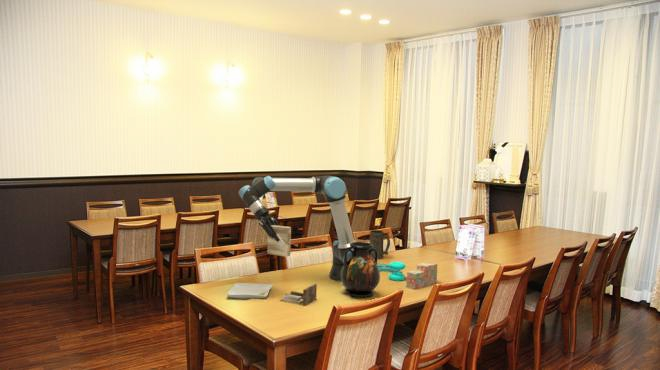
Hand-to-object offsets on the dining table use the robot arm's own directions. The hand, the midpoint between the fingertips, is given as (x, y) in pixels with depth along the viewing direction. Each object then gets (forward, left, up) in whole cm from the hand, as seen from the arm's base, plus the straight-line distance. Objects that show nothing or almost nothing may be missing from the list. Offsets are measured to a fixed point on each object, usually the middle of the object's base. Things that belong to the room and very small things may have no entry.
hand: (285, 244), depth 258 cm
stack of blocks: (-80, -26, -28) cm, 89 cm away
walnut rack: (-8, +7, -28) cm, 30 cm away
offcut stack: (-5, +10, -27) cm, 29 cm away
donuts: (-68, -39, -28) cm, 83 cm away
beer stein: (-66, -94, -28) cm, 118 cm away
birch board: (+3, -2, -6) cm, 7 cm away
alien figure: (-64, -60, -29) cm, 92 cm away
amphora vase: (-41, -7, -28) cm, 50 cm away
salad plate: (+18, -5, -29) cm, 34 cm away
